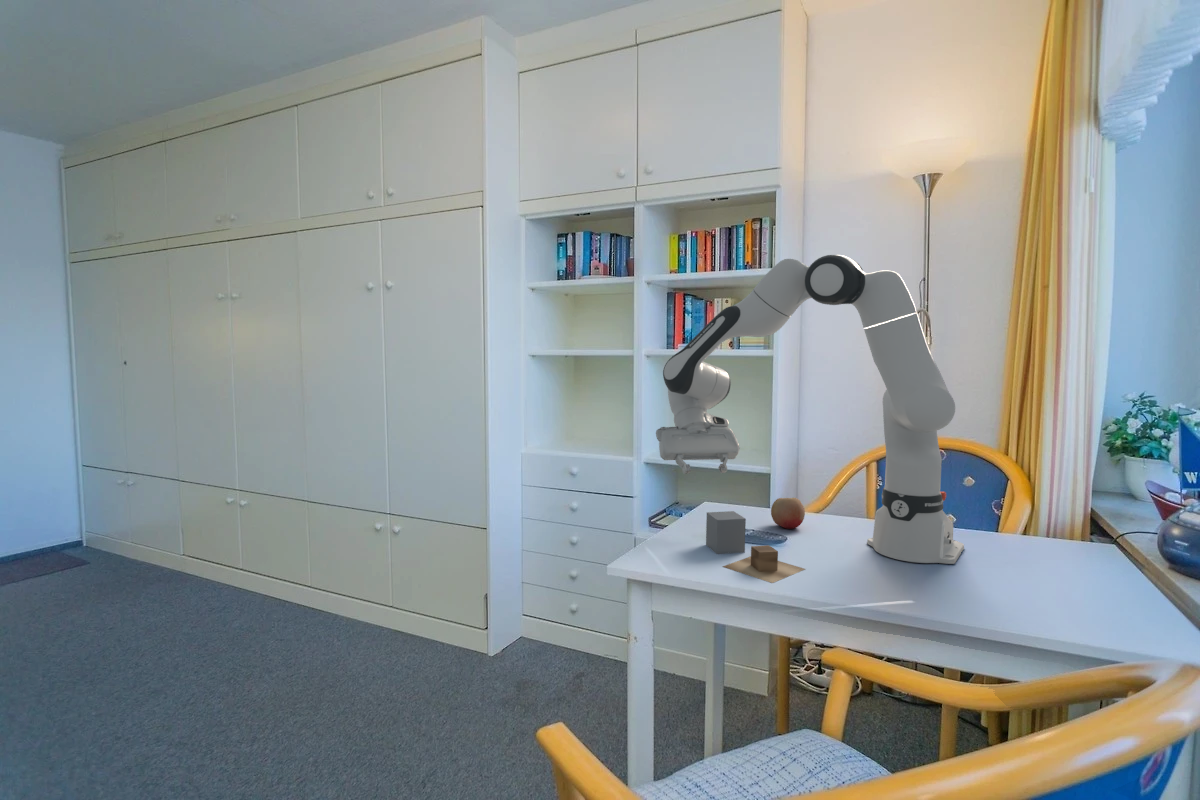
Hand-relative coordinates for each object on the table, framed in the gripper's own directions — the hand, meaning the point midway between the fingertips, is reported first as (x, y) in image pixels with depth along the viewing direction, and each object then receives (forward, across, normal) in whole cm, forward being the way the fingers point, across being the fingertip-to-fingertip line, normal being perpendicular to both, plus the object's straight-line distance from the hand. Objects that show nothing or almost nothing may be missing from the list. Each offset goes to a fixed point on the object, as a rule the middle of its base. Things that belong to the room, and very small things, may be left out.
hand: (705, 472), depth 152 cm
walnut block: (+29, +3, -8) cm, 30 cm away
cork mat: (+29, +3, -7) cm, 30 cm away
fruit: (+10, +23, +12) cm, 28 cm away
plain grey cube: (+20, 0, +2) cm, 20 cm away
